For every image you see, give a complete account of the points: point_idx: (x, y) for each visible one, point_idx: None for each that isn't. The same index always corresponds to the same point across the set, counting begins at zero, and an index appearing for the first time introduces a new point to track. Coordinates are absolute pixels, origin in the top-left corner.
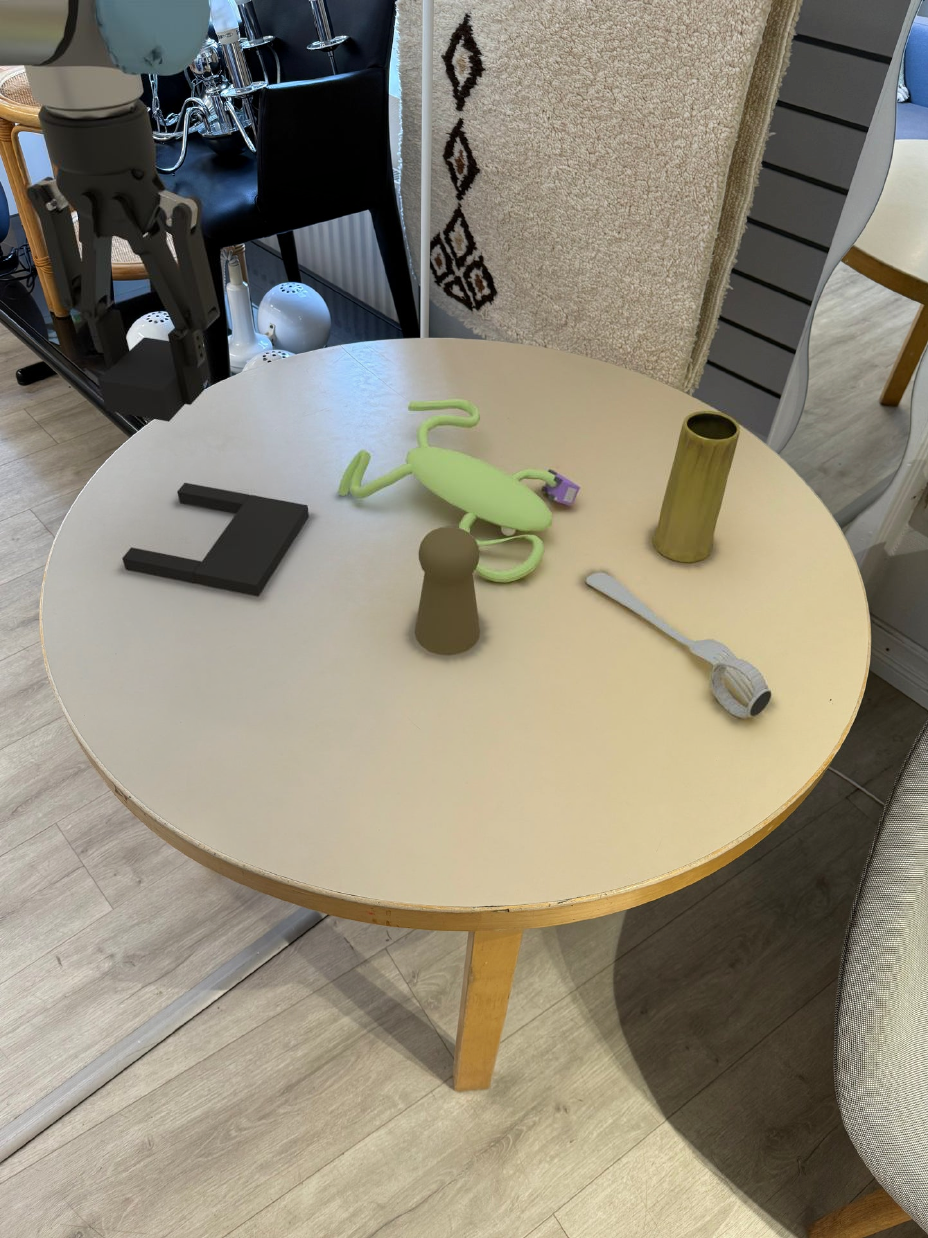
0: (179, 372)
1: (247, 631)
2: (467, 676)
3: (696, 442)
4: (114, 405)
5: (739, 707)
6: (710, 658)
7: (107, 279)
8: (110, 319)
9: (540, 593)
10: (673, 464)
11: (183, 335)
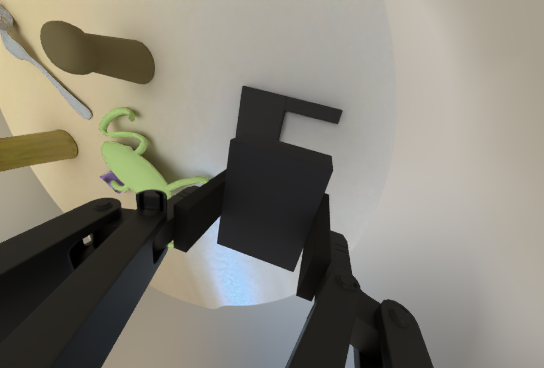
0: (217, 180)
1: (245, 48)
2: (118, 21)
3: None
4: (316, 154)
5: (4, 15)
6: (9, 38)
7: (287, 363)
8: (306, 271)
9: (107, 102)
10: (11, 158)
11: (145, 191)
